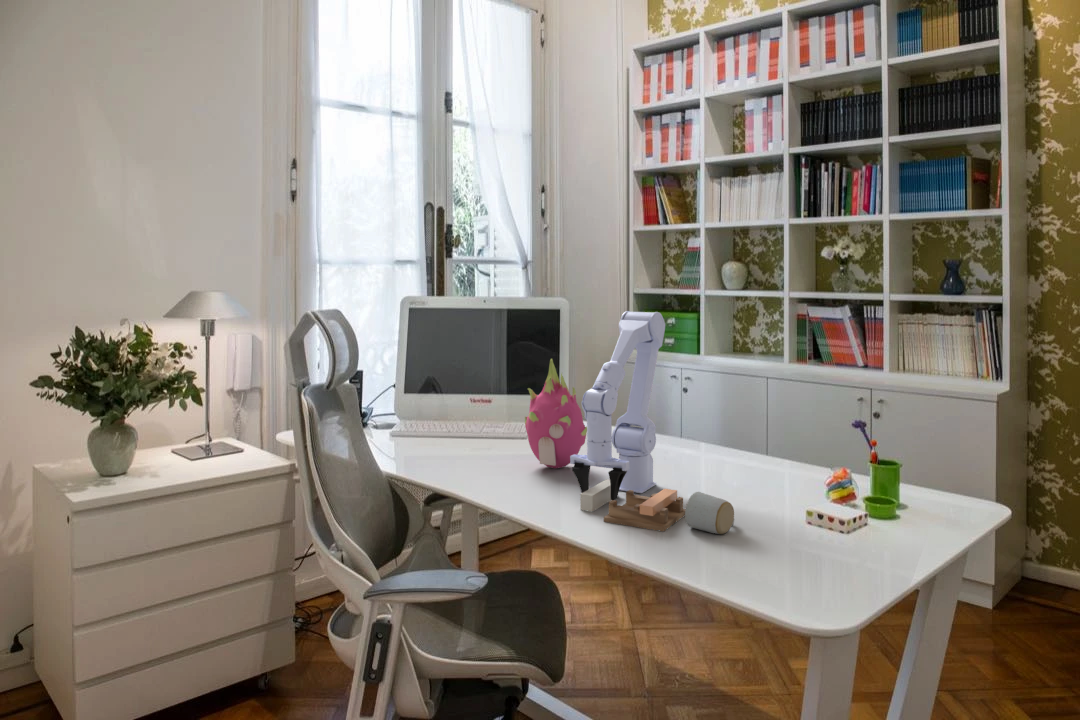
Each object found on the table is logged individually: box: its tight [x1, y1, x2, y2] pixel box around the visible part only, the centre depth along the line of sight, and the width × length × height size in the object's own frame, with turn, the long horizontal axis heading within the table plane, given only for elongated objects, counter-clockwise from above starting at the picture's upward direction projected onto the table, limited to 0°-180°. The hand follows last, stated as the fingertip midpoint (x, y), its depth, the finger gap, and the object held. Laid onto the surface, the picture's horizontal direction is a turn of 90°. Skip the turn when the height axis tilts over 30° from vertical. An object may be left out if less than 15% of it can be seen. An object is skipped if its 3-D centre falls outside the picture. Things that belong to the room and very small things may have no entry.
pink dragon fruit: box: [524, 358, 587, 469], centre depth 221 cm, size 18×14×30 cm
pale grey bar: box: [579, 479, 612, 512], centre depth 191 cm, size 14×3×4 cm, turn 150°
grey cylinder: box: [684, 491, 735, 535], centre depth 171 cm, size 11×8×8 cm
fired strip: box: [640, 488, 678, 516], centre depth 178 cm, size 14×3×2 cm, turn 149°
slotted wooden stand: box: [603, 490, 686, 532], centre depth 179 cm, size 14×14×4 cm
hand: (599, 496), depth 191 cm, fingers open, 7 cm apart
